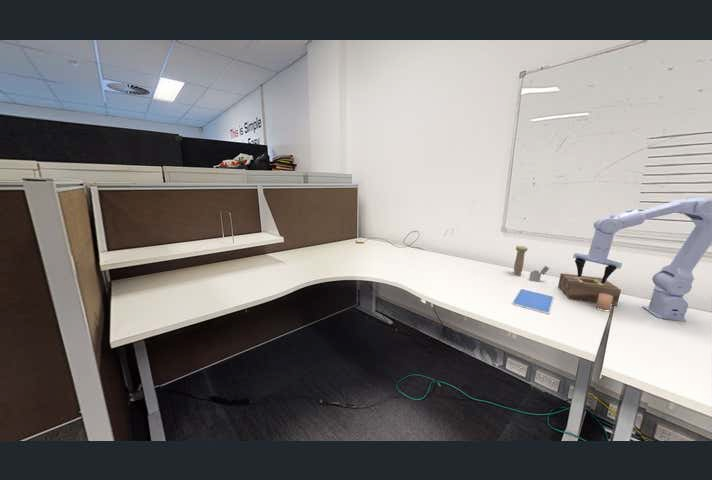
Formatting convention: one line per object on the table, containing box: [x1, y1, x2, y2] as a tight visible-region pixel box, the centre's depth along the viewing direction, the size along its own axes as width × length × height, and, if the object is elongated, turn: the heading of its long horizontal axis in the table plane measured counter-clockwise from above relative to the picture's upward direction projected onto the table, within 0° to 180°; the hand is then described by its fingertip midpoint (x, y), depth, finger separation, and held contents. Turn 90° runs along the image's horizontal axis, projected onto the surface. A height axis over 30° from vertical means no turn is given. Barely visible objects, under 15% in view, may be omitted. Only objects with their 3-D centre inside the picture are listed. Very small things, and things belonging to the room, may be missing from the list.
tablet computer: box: [511, 288, 555, 315], centre depth 109 cm, size 19×13×1 cm, turn 139°
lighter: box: [529, 265, 550, 282], centre depth 131 cm, size 7×2×8 cm, turn 74°
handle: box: [513, 245, 528, 276], centre depth 138 cm, size 5×6×15 cm
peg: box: [595, 293, 613, 310], centre depth 103 cm, size 4×4×6 cm
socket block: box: [557, 272, 622, 307], centre depth 115 cm, size 14×16×7 cm
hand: (590, 279), depth 108 cm, fingers open, 7 cm apart
